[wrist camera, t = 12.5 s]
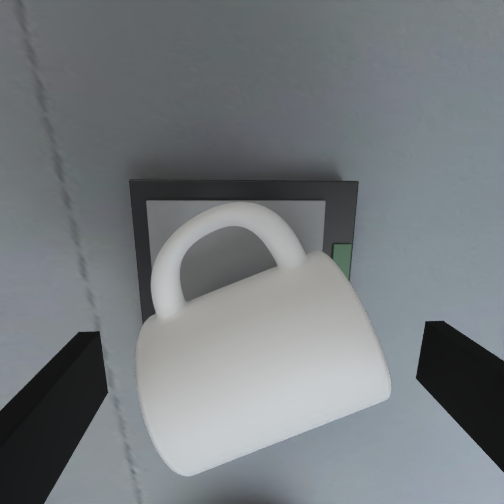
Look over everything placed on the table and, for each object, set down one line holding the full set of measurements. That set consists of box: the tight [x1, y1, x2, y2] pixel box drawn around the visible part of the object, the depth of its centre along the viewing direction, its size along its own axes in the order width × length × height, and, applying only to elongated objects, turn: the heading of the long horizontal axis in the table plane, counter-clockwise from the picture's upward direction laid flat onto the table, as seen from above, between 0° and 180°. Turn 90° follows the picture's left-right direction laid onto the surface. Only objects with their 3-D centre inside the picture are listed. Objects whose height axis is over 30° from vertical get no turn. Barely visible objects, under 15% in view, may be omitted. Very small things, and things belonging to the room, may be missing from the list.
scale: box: [129, 179, 359, 324], centre depth 20 cm, size 14×14×3 cm
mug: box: [135, 202, 391, 476], centre depth 15 cm, size 12×10×8 cm
